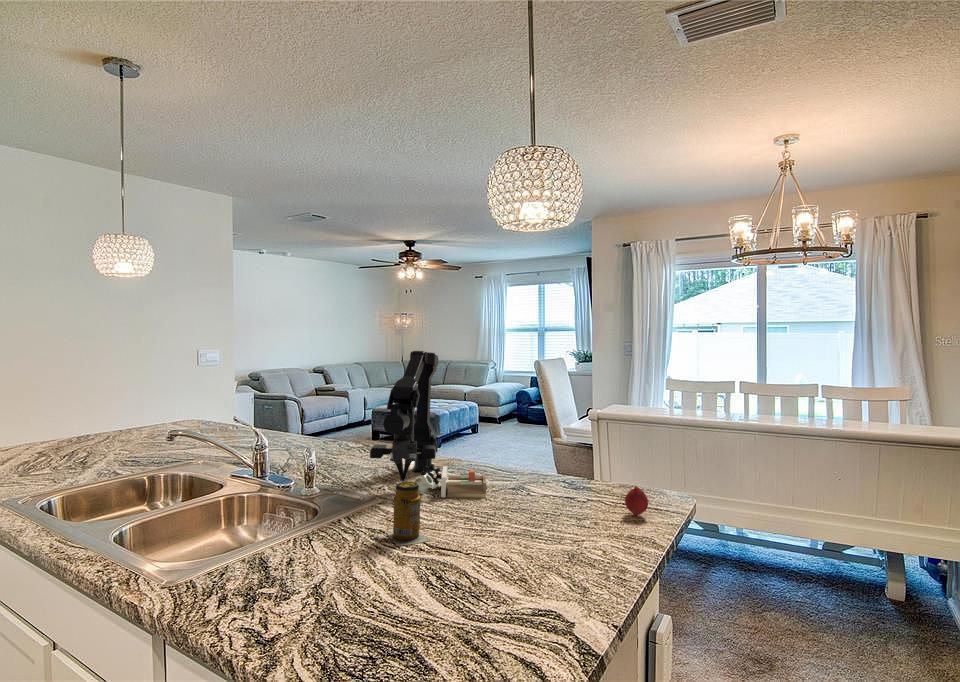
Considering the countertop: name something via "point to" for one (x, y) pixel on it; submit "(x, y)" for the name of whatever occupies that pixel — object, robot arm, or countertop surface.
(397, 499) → the condiment
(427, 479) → the valve
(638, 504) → the onion
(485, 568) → the countertop surface
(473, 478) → the white t-shaped slider
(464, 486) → the gauge housing
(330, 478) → the countertop surface
